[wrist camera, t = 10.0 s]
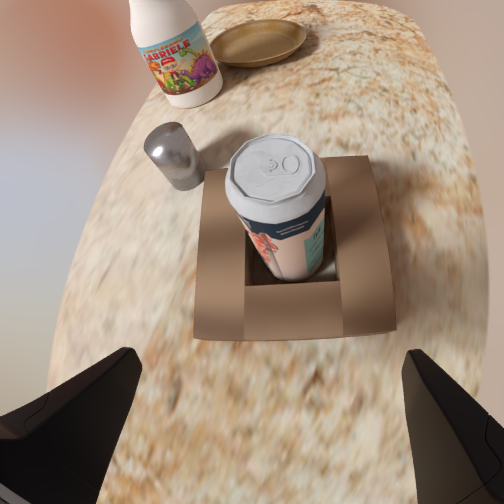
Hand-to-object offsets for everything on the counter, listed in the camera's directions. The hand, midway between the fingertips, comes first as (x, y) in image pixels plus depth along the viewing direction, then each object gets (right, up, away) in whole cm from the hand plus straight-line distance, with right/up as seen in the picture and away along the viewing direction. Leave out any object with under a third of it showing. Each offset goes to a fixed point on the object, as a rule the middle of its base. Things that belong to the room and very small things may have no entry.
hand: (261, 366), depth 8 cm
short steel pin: (-7, +11, +20) cm, 24 cm away
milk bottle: (-8, +25, +26) cm, 37 cm away
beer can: (+3, +3, +15) cm, 16 cm away
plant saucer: (+1, +34, +27) cm, 43 cm away
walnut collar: (+3, +3, +15) cm, 16 cm away
